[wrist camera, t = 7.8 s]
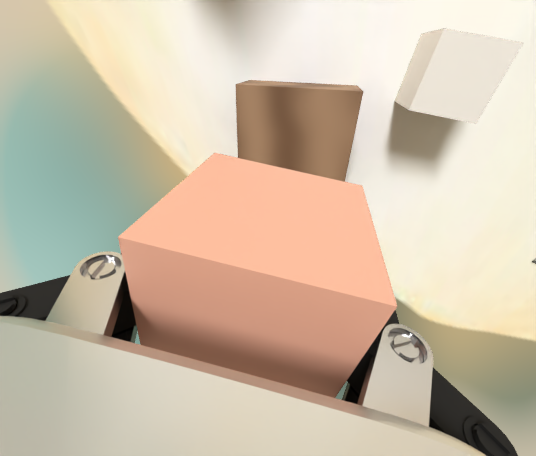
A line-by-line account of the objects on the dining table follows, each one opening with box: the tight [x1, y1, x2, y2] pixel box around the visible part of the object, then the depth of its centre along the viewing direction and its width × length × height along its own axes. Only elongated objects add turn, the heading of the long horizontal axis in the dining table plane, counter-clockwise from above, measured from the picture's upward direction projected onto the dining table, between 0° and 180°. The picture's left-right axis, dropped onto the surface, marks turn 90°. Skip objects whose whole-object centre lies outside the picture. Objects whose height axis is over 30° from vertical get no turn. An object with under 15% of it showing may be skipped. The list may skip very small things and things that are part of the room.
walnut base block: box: [236, 80, 363, 182], centre depth 25 cm, size 10×10×5 cm
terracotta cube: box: [118, 153, 397, 398], centre depth 10 cm, size 6×6×6 cm
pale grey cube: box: [395, 28, 523, 124], centre depth 20 cm, size 5×5×5 cm
